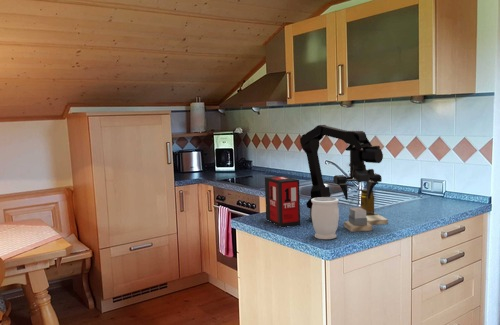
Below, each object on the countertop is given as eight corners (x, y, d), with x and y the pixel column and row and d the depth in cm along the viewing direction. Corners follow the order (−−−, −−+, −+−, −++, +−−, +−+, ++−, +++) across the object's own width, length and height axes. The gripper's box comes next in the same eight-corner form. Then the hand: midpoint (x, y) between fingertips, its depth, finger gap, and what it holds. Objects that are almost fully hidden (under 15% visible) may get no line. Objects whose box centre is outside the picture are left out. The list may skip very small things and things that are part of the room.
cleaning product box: (300, 225, 192) (299, 179, 190) (281, 227, 189) (280, 181, 187) (283, 217, 207) (282, 175, 205) (266, 220, 204) (264, 177, 202)
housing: (354, 226, 180) (354, 211, 179) (348, 221, 187) (348, 207, 186) (366, 225, 180) (366, 210, 180) (360, 221, 187) (360, 207, 187)
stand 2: (367, 225, 188) (367, 220, 188) (359, 220, 197) (359, 216, 197) (387, 224, 189) (387, 219, 189) (379, 219, 198) (379, 214, 197)
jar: (309, 239, 170) (308, 201, 168) (315, 232, 179) (314, 196, 178) (336, 241, 166) (336, 202, 164) (341, 234, 176) (340, 197, 174)
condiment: (358, 214, 210) (357, 189, 208) (375, 213, 210) (375, 188, 209) (363, 217, 202) (363, 191, 201) (381, 216, 203) (381, 190, 202)
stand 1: (350, 231, 179) (350, 226, 179) (343, 226, 188) (343, 221, 188) (372, 230, 180) (372, 225, 180) (364, 224, 189) (364, 220, 189)
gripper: (341, 164, 172) (341, 204, 174) (387, 162, 174) (387, 201, 176) (332, 162, 183) (333, 199, 185) (376, 160, 185) (376, 196, 187)
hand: (357, 199), depth 183 cm, fingers open, 9 cm apart
